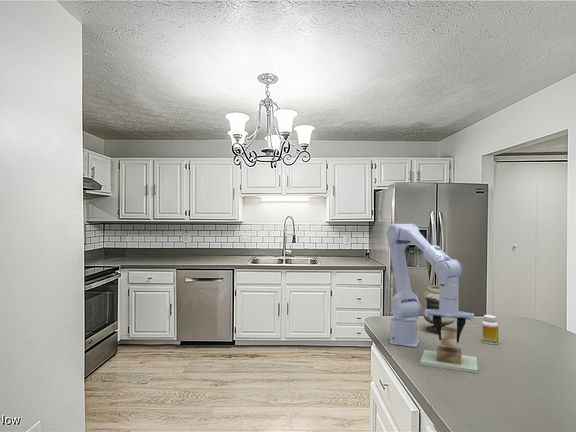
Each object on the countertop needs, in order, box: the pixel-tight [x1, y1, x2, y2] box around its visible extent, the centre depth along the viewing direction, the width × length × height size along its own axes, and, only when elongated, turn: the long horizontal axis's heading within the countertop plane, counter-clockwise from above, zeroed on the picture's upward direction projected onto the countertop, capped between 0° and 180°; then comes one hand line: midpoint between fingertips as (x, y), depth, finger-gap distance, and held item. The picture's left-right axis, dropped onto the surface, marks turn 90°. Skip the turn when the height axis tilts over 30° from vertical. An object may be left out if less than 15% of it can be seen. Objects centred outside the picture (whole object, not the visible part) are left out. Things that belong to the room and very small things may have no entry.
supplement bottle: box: [481, 314, 499, 345], centre depth 142 cm, size 5×5×10 cm
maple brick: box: [440, 326, 458, 348], centre depth 122 cm, size 4×4×5 cm
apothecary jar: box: [423, 284, 456, 334], centre depth 156 cm, size 12×12×18 cm
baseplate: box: [420, 349, 479, 374], centre depth 122 cm, size 16×12×1 cm
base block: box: [436, 344, 462, 365], centre depth 122 cm, size 7×7×3 cm
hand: (449, 340), depth 122 cm, fingers closed on maple brick, 4 cm apart
